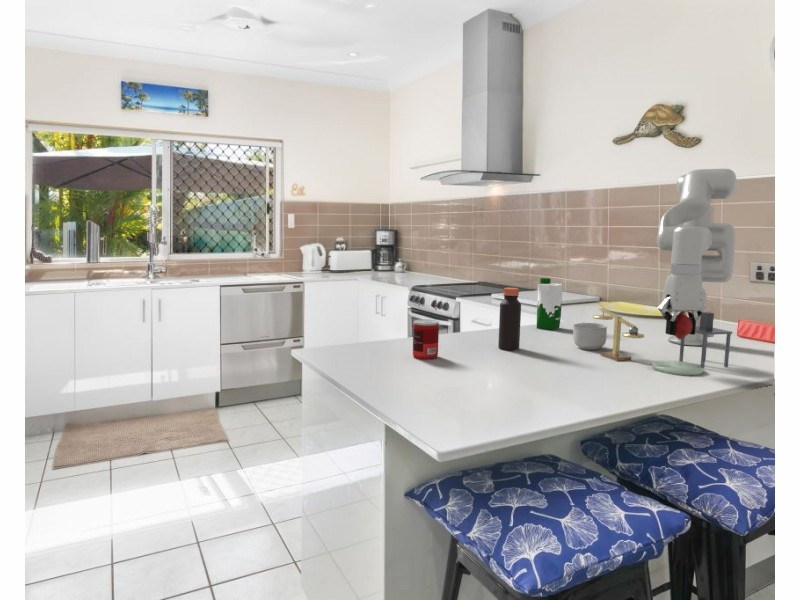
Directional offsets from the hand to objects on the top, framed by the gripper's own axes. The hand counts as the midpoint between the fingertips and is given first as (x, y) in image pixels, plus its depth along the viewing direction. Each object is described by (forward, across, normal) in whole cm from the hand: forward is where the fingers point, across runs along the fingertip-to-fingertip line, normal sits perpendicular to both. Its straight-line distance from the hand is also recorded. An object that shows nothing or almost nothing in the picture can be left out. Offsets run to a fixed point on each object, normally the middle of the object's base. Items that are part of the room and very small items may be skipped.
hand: (680, 333), depth 160 cm
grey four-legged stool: (+10, -13, -4) cm, 17 cm away
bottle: (+11, +35, -36) cm, 51 cm away
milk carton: (+10, +1, -69) cm, 70 cm away
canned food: (+11, +66, -30) cm, 73 cm away
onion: (+2, 0, 0) cm, 2 cm away
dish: (+10, 0, 0) cm, 10 cm away
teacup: (+11, +7, -33) cm, 35 cm away
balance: (+10, +8, -17) cm, 22 cm away
